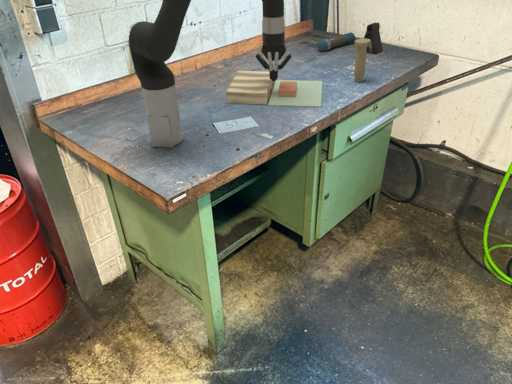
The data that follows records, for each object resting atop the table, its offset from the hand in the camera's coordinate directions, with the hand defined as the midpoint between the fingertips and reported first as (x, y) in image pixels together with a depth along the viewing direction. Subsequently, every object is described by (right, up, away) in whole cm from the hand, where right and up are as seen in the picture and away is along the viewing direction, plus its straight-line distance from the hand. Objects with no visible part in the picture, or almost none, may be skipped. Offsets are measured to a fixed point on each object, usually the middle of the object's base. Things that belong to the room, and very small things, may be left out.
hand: (273, 80), depth 152 cm
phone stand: (+45, +24, +41) cm, 66 cm away
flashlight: (+31, +28, +49) cm, 64 cm away
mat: (+8, -4, +2) cm, 10 cm away
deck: (-8, -3, +5) cm, 10 cm away
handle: (+33, +2, +11) cm, 34 cm away
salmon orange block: (+5, -2, +1) cm, 5 cm away
